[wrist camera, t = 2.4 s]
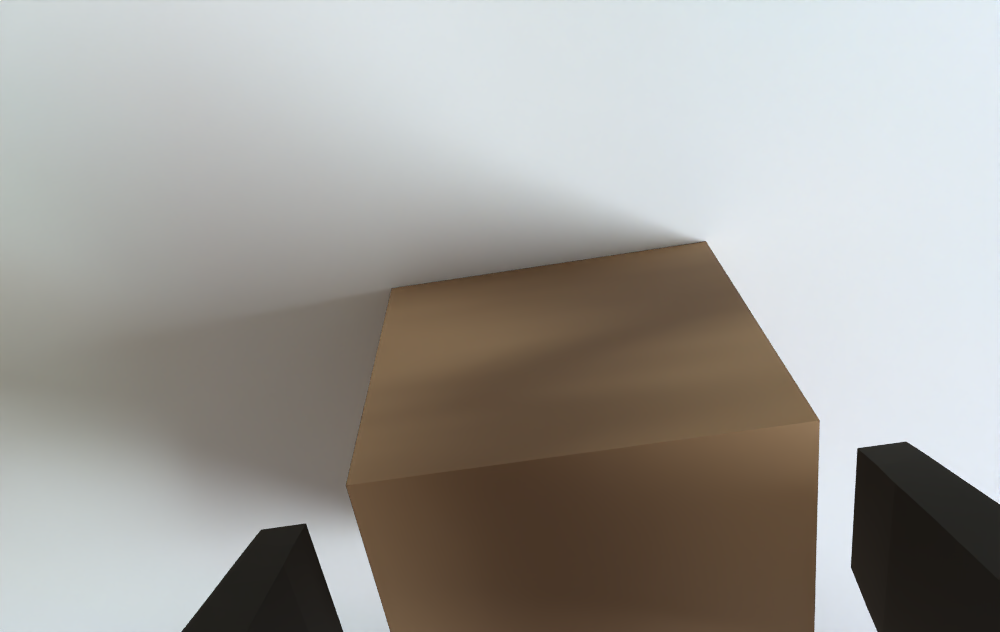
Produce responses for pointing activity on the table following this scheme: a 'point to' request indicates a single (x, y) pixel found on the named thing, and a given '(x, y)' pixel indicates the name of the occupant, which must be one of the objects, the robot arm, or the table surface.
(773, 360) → the cube
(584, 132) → the table surface
